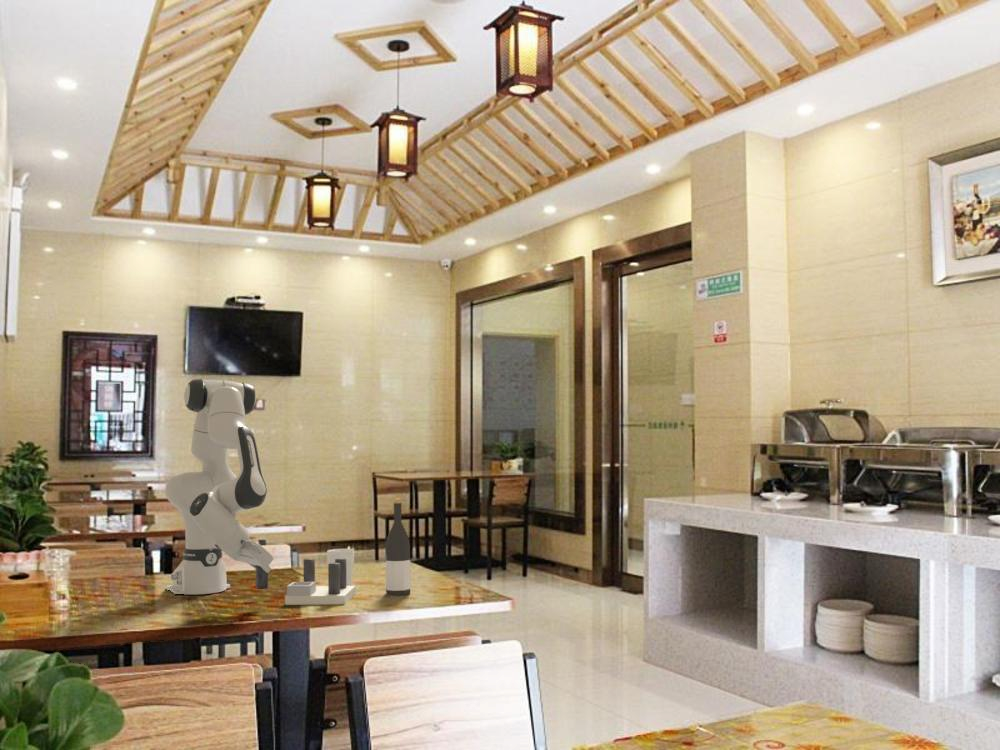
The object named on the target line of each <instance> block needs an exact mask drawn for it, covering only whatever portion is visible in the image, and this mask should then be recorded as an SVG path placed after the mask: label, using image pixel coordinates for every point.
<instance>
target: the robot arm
mask: <svg viewBox="0 0 1000 750" xmlns="http://www.w3.org/2000/svg"><path fill="white" fill-rule="evenodd" d="M183 393H184V394H183V398H184V403H185V407H186V408H187V409H188V410H189V411H192V412H194V413H196V416H195V419H194V426H193V431H192V439H191V448H190V449H191V454H192V455H193V456H194V458H196V459H197V460H199V461H200V462H201V465H202V466H201V467H202V470H201V471H192V472H191V471H190V472H183V473H179V474H176V475H173V476H171V477H170V478H169V479H168V480H167V483H166V485H165V495H166V499H167V500H168V502H169V503H170V504H171V505H173V506H174V508H176V509H177V510H178V512H179V514H180V515H181V517H182V520H183V523H184V533H185V536H184V537H185V547H184V549H183V550H182V551H183V552H182V561H181V562H180V564H179V565H178V566H177V567H176V568H175V569H174V571H173V572H172V573H171V574H170V578H171V580H172V584H169V585H168V584H167V585H165V588H167V589H168V590H170V591H171V592H173V593H174V594H173V593H172V594H173V595H175V594H184V595H207V594H216V593H221V592H224V591H226V590H227V589H230V588H231V584H230V583H227V582H228V580H227V579H228V578H227V568H226V563H225V562H224V561H223V560H222V558H223V553H224V554H225V555H227V556H228V557H229V558H230V559H232V560H234V561H235V562H236V561H237V562H240V563H246V564H247V565H249V566H250V567H253V569H254V570H256V565H257V566H260V567H261V568H262V570H263V571H264V572H266V573H268V574H269V573H270V571H271V569H272V568H271V566H270V565H271V564H272V562H273V560H274V557H273V555H272V554H271V553H270V552H269V551H268V550H267V549H266V548H264V546H262V545H261V543H258V542H257V541H252V540H251V538H250V537H251V533H250V531H249V530H248V529H247V528H246V527H245V526H244V525H243V524H242V523H241V522H240V521H239V520H238V519H236V515H237V514H238V513H242V512H244V511H246V510H250V509H255V508H257V507H260V506H261V505H262V504H263V503H264V501H265V500H266V496H267V489H268V488H267V485H266V482H265V479H264V478H263V477H264V476H263V474H262V469H261V463H260V458H259V457H260V456H259V452H258V448H257V447H258V446H257V441H256V438H255V435H254V432H253V431H252V430H251V429H250V428H249V427H247V424H246V415H248V414H251V413H252V411H253V410H254V408H255V406H256V403H257V396H256V395H257V394H256V389H255V388H254V386H253V385H251V384H249V383H246V382H236V381H233V380H226V379H222V380H221V379H202V378H197V379H196V378H195V379H192V380H190V381H189V382H188V383H187V385H186V387H185V389H184V392H183ZM227 449H229V450H236V451H237V455H238V456H237V457H238V462H239V467H240V472H239V475H238V476H237V474H235V473H234V472H233V470H232V469H231V468H230V466H229V461H228V456H227V452H228V451H227ZM168 590H167V591H168ZM170 591H169V592H170ZM171 592H170V593H171Z"/></svg>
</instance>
